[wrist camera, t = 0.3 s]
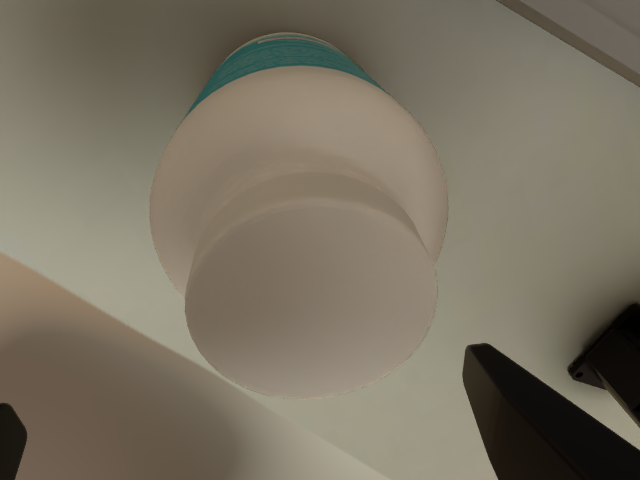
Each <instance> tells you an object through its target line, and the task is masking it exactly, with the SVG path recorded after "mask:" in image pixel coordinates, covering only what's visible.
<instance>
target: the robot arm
mask: <svg viewBox="0 0 640 480" xmlns="http://www.w3.org/2000/svg"><path fill="white" fill-rule="evenodd" d="M568 373H569V375H570V376H571V377H572V379H574V380H576V381H579V382H583V383H586V384H589V385H592V386H595V387H599V388H602V389H605V390H608V391H609V392H610V394H611V395H612V396H613V397H614V398H615V400H616V401H617V402H618V403H619V404H620V405H621V407H622V408H623V409H624V410H625V411H626V413H627V414H628V415H629V416H630V417H631V418H632V420H633V421H634V422H635V423H636V424H637V426H638V427H639V428H640V304H634V305H632V306H630V307H629V308H628V309H627V310H626V311H625V312H624V313H623V314H622V315H621V316H620V317H619V318H618V319H617V320H616V321H615V322H614V323H613V324H612V325H611V326H610V328H609V329H608V330H607V331H606V332H605V333H604V334H603V335H602V336H601V337H600V338H599V339H598V340H597V341H596V342H595V343H594V344H593V345H592V346H591V347H590V349H589V350H588V351H587V352H586V353H585V354H584V355H583V356H582V357H581V358H580V359H579V360H578V361H577V362H576V363H575V364H574V365H573V366H572V367H571V368H570V370H569V372H568ZM462 375H463V383H464V387H465V390H466V393H467V396H468V399H469V402H470V404H471V407H472V410H473V413H474V416H475V419H476V422H477V425H478V428H479V431H480V434H481V437H482V440H483V443H484V446H485V449H486V452H487V454H488V457H489V460H490V462H491V464H492V467H493V469H494V471H495V473H496V476H497V478H498V480H640V450H639V449H637V448H636V447H634V446H633V445H632V444H630V443H629V442H627V441H626V440H624V439H623V438H622V437H620V436H619V435H617V434H616V433H615V432H613V431H612V430H610V429H609V428H607V427H606V426H605V425H603V424H602V423H600V422H599V421H598V420H596V419H595V418H593V417H592V416H590V415H589V414H588V413H586V412H585V411H583V410H582V409H581V408H579V407H578V406H576V405H575V404H573V403H572V402H571V401H569V400H568V399H566V398H565V397H564V396H562V395H561V394H559V393H558V392H556V391H555V390H554V389H552V388H551V387H549V386H548V385H547V384H545V383H544V382H542V381H541V380H539V379H538V378H537V377H535V376H534V375H532V374H531V373H530V372H528V371H527V370H525V369H524V368H522V367H521V366H520V365H518V364H517V363H515V362H514V361H513V360H511V359H510V358H508V357H507V356H505V355H504V354H503V353H501V352H500V351H498V350H497V349H496V348H494V347H493V346H491V345H490V344H487V343H480V344H472V345H468V346H467V347H466V350H465V357H464V365H463V374H462ZM26 441H27V431H26V428H25V426H24V425H23V423H22V422H21V420H20V418H19V417H18V416H17V414H16V412H15V411H14V409H13V408H12V406H11V405H10V404H8V403H0V480H15V477H16V474H17V471H18V468H19V465H20V461H21V458H22V455H23V452H24V448H25V445H26Z"/></svg>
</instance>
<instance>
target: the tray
mask: <svg viewBox="0 0 640 480" xmlns="http://www.w3.org/2000/svg"><path fill="white" fill-rule="evenodd" d="M497 1H498V2H500V3H502V4H503V5H505V6H507V7H508V8H510V9H512V10H513V11H515V12H516V13H518V14H520V15H521V16H523V17H525V18H526V19H528V20H530V21H531V22H533V23H535V24H536V25H538V26H540V27H541V28H543V29H545V30H546V31H548V32H550V33H551V34H553V35H555V36H556V37H558V38H560V39H561V40H563V41H565V42H566V43H568V44H570V45H571V46H573V47H575V48H576V49H578V50H579V51H581V52H583V53H584V54H586V55H588V56H589V57H591V58H593V59H594V60H596V61H598V62H599V63H601V64H603V65H604V66H606V67H608V68H609V69H611V70H613V71H614V72H616V73H618V74H619V75H621V76H623V77H624V78H626V79H628V80H629V81H631V82H633V83H634V84H636V85H638V86H639V87H640V0H497Z"/></svg>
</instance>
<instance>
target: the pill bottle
mask: <svg viewBox="0 0 640 480" xmlns="http://www.w3.org/2000/svg"><path fill="white" fill-rule="evenodd" d="M447 220H448V195H447V186H446V181H445V177H444V173H443V169H442V166H441V163H440V161H439V158H438V156H437V153H436V151H435V148H434V146H433V145H432V143H431V141H430V140H429V138H428V136H427V135H426V133H425V132H424V130H423V129H422V127H421V126H420V125H419V124H418V122H417V121H416V120H415V119H414V118H413V117H412V116H411V115H410V114H409V113H408V111H407V110H405V109H404V108H403V107H402V106H401V105H400V104H399V103H398V102H397V101H396V100H395V99H394V98H392V97H391V96H390V95H389V94H388V93H387V92H386V91H385V90H384V89H382V88H381V87H380V86H379V85H378V84H377V83H376V82H375V81H374V80H372V79H371V78H370V77H369V76H368V75H367V74H366V73H365V72H364V71H363V70H362V69H361V68H359V67H358V66H357V65H356V64H355V63H354V62H353V61H352V60H351V59H350V58H348V57H347V56H346V55H345V54H344V53H342V52H341V51H340V50H339V49H337V48H336V47H335V46H333V45H331V44H330V43H328V42H326V41H324V40H321V39H319V38H316V37H313V36H310V35H306V34H301V33H291V32H281V33H273V34H268V35H264V36H261V37H258V38H255V39H253V40H251V41H249V42H247V43H245V44H243V45H242V46H240V47H239V48H237V49H236V50H235V51H234V52H232V53H231V54H230V55H229V56H228V57H227V58H226V59H225V60H224V61H223V62H222V64H221V65H220V66H219V68H218V69H217V70H216V71H215V73H214V75H213V76H212V78H211V79H210V80H209V82H208V83H207V85H206V86H205V88H204V89H203V91H202V92H201V94H200V95H199V97H198V98H197V100H196V101H195V103H194V104H193V106H192V107H191V109H190V110H189V112H188V113H187V115H186V116H185V118H184V119H183V121H182V122H181V124H180V125H179V127H178V128H177V129H176V131H175V133H174V135H173V136H172V138H171V140H170V141H169V143H168V145H167V146H166V148H165V150H164V153H163V155H162V157H161V159H160V161H159V164H158V167H157V170H156V173H155V176H154V179H153V184H152V190H151V195H150V225H151V233H152V237H153V241H154V245H155V249H156V251H157V254H158V256H159V259H160V261H161V263H162V265H163V267H164V269H165V271H166V273H167V275H168V277H169V278H170V280H171V281H172V283H173V285H174V286H175V287H176V289H177V290H178V291H179V292H180V294H181V295H182V296H183V297H184V298H185V314H186V320H187V326H188V329H189V332H190V334H191V337H192V339H193V341H194V343H195V345H196V346H197V348H198V350H199V352H200V353H201V354H202V355H203V357H204V358H205V359H206V360H207V361H208V363H209V364H210V365H212V366H213V367H214V368H215V369H216V370H217V371H218V372H219V373H220V374H222V375H223V376H225V377H226V378H228V379H229V380H231V381H233V382H235V383H237V384H239V385H240V386H242V387H245V388H247V389H249V390H251V391H254V392H258V393H261V394H264V395H268V396H273V397H279V398H287V399H317V398H327V397H333V396H337V395H341V394H345V393H349V392H353V391H355V390H358V389H360V388H363V387H365V386H368V385H370V384H372V383H374V382H376V381H378V380H380V379H381V378H383V377H385V376H386V375H388V374H389V373H390V372H392V371H393V370H395V369H396V368H398V367H399V366H400V365H401V364H402V363H403V362H404V361H405V360H406V359H408V358H409V357H410V356H411V355H412V353H413V352H414V351H415V350H416V349H417V348H418V347H419V345H420V344H421V342H422V341H423V339H424V337H425V336H426V334H427V332H428V330H429V328H430V326H431V323H432V321H433V318H434V315H435V311H436V307H437V297H438V289H437V277H436V272H435V268H434V264H435V262H436V260H437V257H438V255H439V252H440V250H441V247H442V244H443V240H444V237H445V232H446V226H447Z"/></svg>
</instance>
